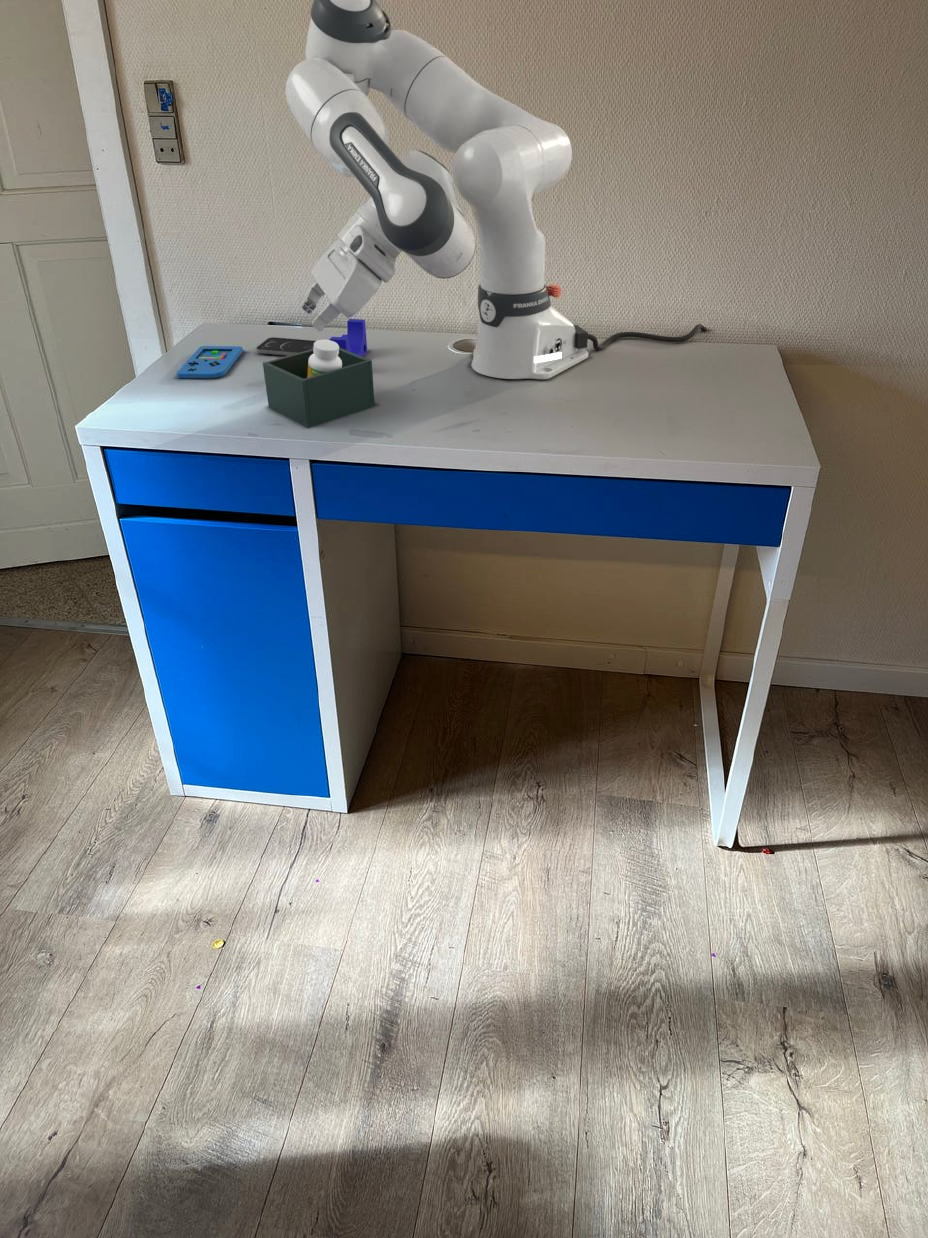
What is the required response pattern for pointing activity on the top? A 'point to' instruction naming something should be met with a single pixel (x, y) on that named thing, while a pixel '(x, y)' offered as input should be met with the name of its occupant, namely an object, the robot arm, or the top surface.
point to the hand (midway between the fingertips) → (309, 318)
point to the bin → (318, 388)
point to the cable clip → (353, 337)
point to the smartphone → (284, 346)
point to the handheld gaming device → (210, 362)
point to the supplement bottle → (324, 358)
